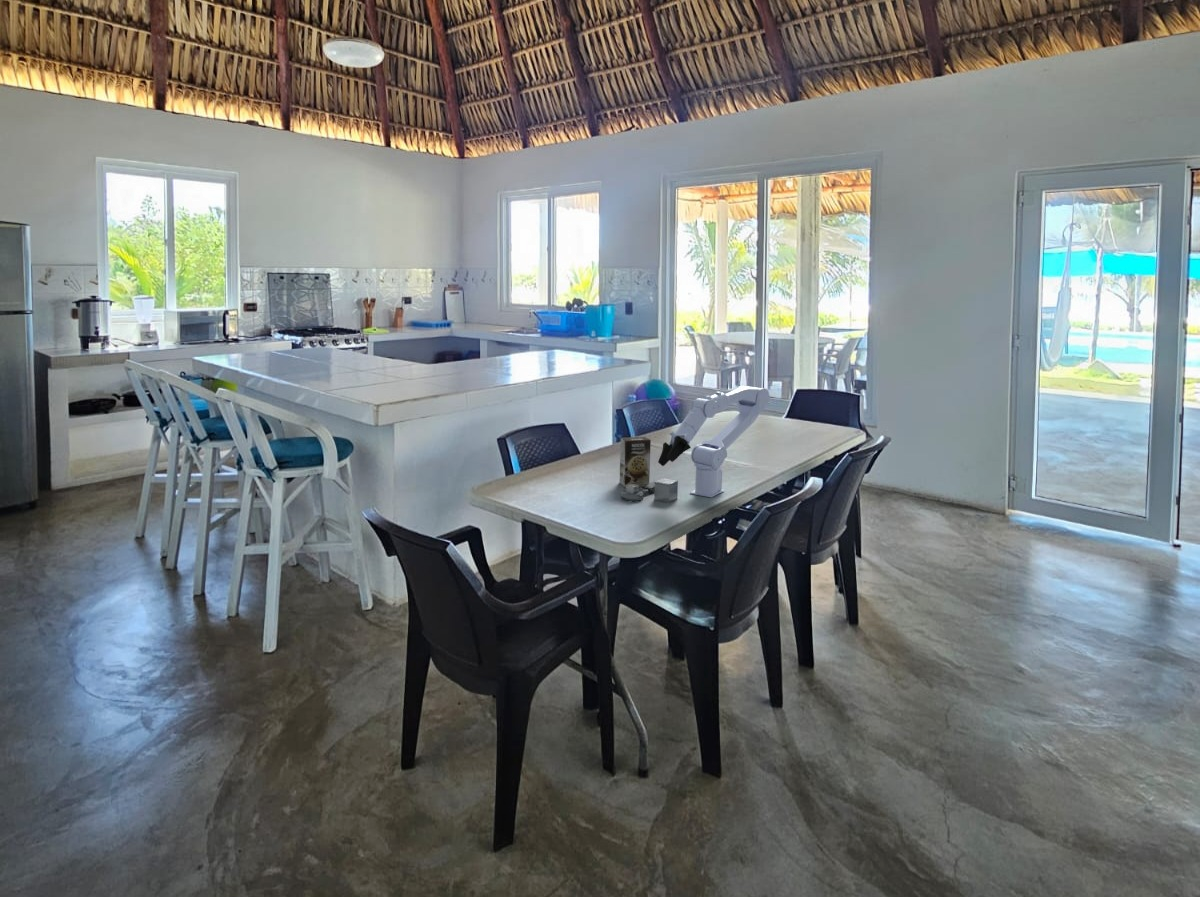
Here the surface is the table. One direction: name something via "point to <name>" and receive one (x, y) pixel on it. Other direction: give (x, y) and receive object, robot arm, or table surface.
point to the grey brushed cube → (666, 490)
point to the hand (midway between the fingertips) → (665, 462)
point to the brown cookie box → (635, 461)
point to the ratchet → (637, 492)
